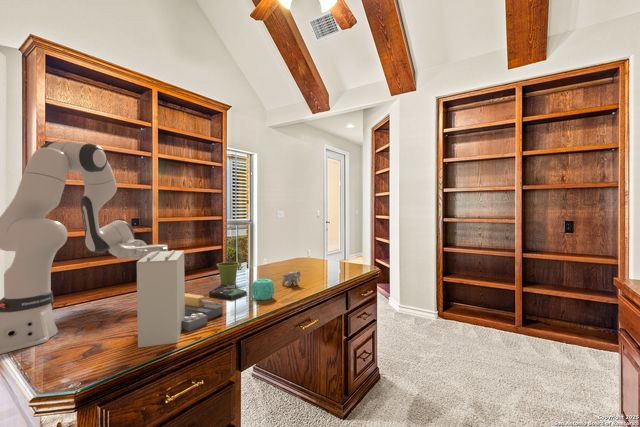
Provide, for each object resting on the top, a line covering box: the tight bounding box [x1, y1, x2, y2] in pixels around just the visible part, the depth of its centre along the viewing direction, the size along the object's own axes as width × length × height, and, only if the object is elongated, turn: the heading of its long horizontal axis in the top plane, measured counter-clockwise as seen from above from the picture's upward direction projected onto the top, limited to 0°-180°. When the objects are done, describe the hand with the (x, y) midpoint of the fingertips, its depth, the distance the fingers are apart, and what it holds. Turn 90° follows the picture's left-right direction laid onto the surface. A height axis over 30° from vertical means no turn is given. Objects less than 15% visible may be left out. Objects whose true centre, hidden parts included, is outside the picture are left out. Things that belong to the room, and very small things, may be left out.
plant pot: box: [216, 261, 240, 286], centre depth 171 cm, size 12×12×11 cm
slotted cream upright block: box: [136, 249, 186, 349], centre depth 106 cm, size 22×11×27 cm, turn 18°
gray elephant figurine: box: [281, 271, 301, 288], centre depth 167 cm, size 9×12×8 cm
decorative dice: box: [251, 278, 275, 301], centre depth 145 cm, size 8×8×8 cm
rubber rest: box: [185, 304, 223, 321], centre depth 124 cm, size 8×20×3 cm, turn 63°
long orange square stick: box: [185, 292, 222, 307], centre depth 126 cm, size 30×3×3 cm, turn 66°
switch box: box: [182, 313, 208, 332], centre depth 111 cm, size 8×5×4 cm, turn 153°
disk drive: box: [208, 286, 248, 301], centre depth 149 cm, size 10×3×15 cm
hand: (156, 251), depth 136 cm, fingers open, 8 cm apart
